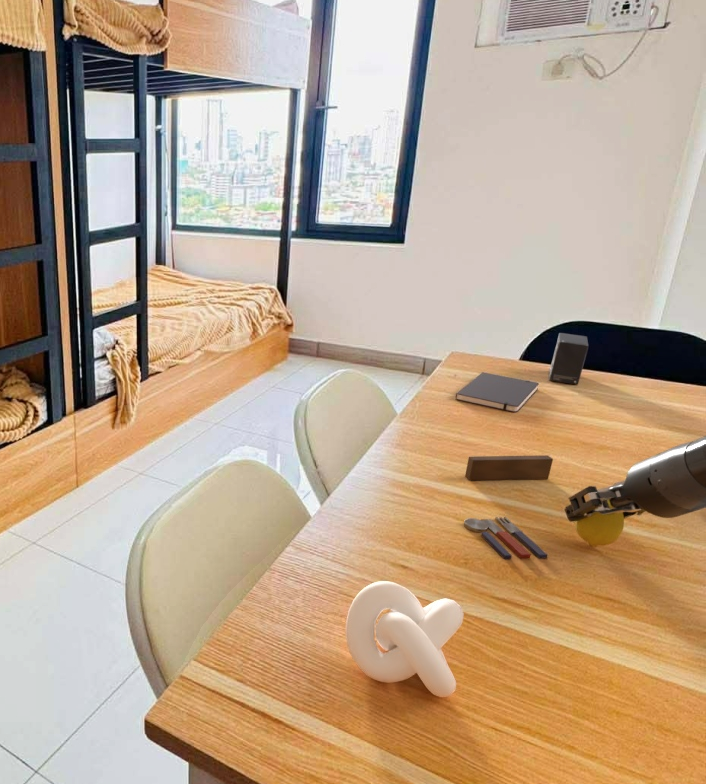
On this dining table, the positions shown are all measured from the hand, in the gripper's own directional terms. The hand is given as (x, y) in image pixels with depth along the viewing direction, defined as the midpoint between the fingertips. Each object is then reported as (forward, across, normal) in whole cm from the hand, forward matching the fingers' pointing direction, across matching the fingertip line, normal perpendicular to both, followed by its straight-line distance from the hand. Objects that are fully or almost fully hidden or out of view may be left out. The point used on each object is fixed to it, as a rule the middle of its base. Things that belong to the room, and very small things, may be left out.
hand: (589, 514), depth 91 cm
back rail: (+16, 0, -11) cm, 20 cm away
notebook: (+46, -23, -40) cm, 66 cm away
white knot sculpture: (-14, +38, +21) cm, 45 cm away
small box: (+53, -47, -48) cm, 86 cm away
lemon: (+2, 0, +4) cm, 5 cm away
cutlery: (+4, +12, +2) cm, 13 cm away
